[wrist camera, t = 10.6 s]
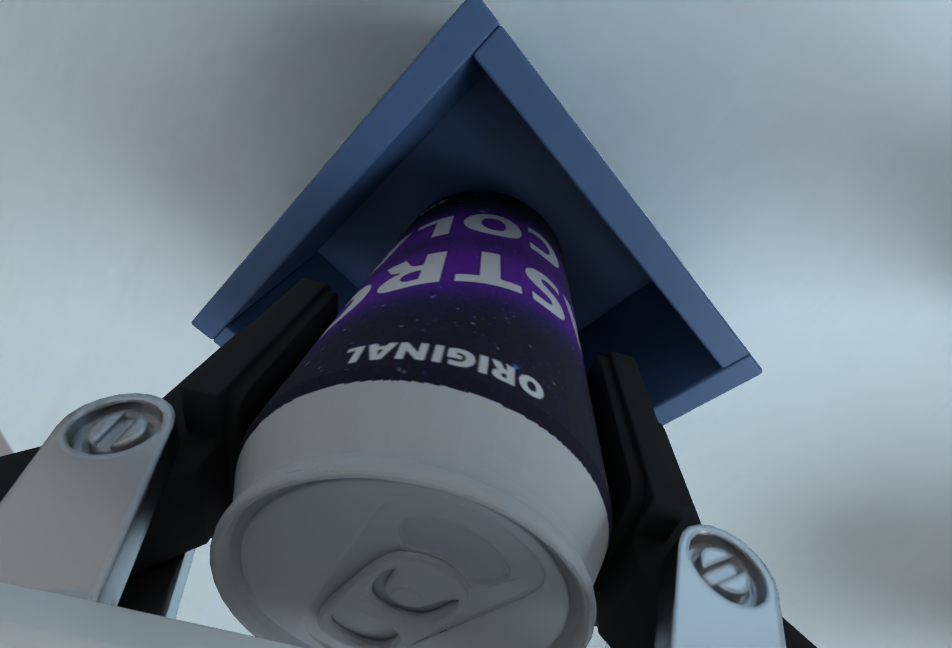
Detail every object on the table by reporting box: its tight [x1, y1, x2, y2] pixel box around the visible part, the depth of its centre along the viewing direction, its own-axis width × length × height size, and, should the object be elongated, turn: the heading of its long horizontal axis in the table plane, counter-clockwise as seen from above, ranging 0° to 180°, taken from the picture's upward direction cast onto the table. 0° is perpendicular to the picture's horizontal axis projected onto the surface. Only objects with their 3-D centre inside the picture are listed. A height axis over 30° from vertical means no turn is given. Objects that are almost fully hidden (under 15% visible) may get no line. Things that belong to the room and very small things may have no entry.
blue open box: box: [192, 0, 762, 426], centre depth 14 cm, size 10×10×7 cm
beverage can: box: [210, 190, 613, 648], centre depth 11 cm, size 6×6×12 cm
